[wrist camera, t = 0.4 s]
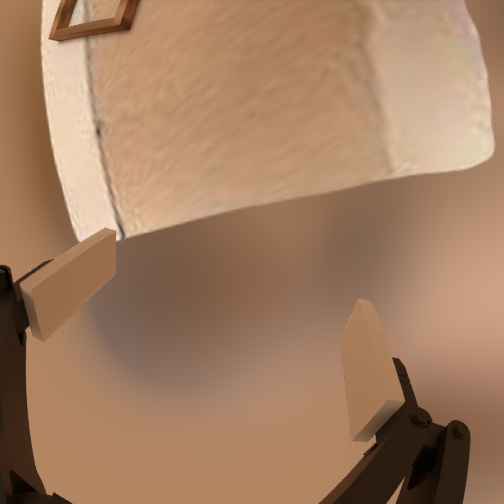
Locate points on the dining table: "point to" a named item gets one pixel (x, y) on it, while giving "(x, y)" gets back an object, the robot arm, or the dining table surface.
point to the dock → (101, 26)
